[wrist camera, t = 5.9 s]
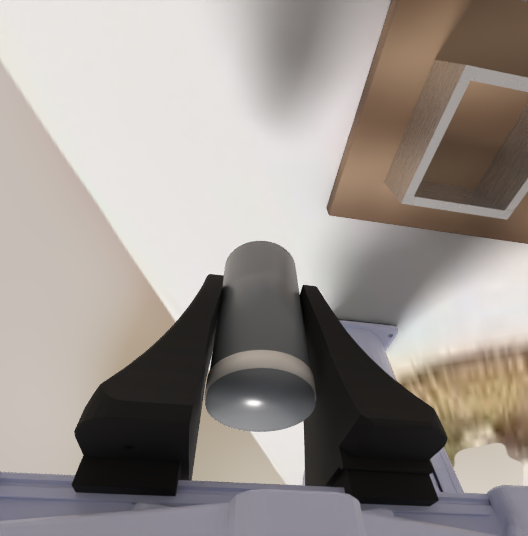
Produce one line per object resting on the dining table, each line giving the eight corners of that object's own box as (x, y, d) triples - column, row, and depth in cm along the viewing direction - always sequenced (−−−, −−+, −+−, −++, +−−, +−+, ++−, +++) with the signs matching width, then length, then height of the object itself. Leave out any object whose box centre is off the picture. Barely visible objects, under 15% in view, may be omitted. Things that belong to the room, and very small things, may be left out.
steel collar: (477, 197, 20) (507, 219, 18) (383, 182, 19) (401, 203, 17) (548, 83, 16) (598, 92, 14) (434, 59, 16) (466, 64, 13)
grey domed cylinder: (288, 300, 17) (302, 435, 11) (221, 293, 16) (201, 428, 11) (304, 245, 14) (331, 378, 9) (227, 235, 14) (206, 368, 9)
